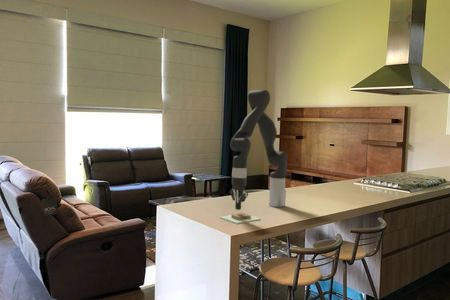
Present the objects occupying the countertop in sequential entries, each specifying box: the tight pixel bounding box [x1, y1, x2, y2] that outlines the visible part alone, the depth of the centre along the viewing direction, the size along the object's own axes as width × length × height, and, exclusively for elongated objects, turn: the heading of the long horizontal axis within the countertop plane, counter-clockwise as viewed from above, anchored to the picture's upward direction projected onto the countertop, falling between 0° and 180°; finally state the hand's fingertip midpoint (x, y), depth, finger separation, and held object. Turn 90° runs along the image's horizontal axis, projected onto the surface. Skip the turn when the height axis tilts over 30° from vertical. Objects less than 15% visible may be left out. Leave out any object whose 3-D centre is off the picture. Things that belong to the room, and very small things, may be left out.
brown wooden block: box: [231, 212, 252, 220], centre depth 197 cm, size 8×2×6 cm
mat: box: [219, 214, 262, 225], centre depth 197 cm, size 16×14×1 cm
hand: (237, 209), depth 199 cm, fingers closed
